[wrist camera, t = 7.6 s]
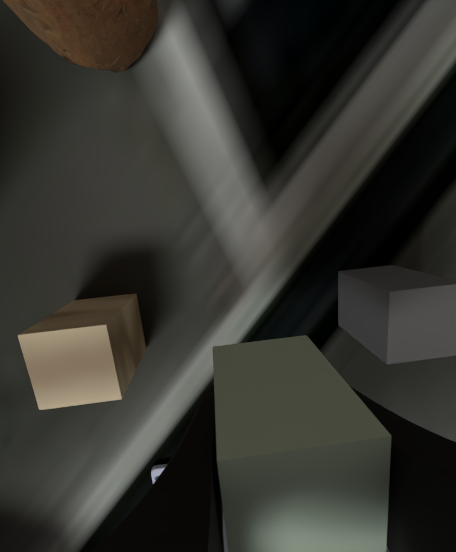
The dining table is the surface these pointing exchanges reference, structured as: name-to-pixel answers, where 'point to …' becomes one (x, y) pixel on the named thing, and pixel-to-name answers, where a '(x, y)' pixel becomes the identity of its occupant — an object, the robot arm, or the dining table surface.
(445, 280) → the charcoal block
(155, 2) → the brown rough elongated lump
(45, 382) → the beech block
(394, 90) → the dining table surface
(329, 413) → the sage block
